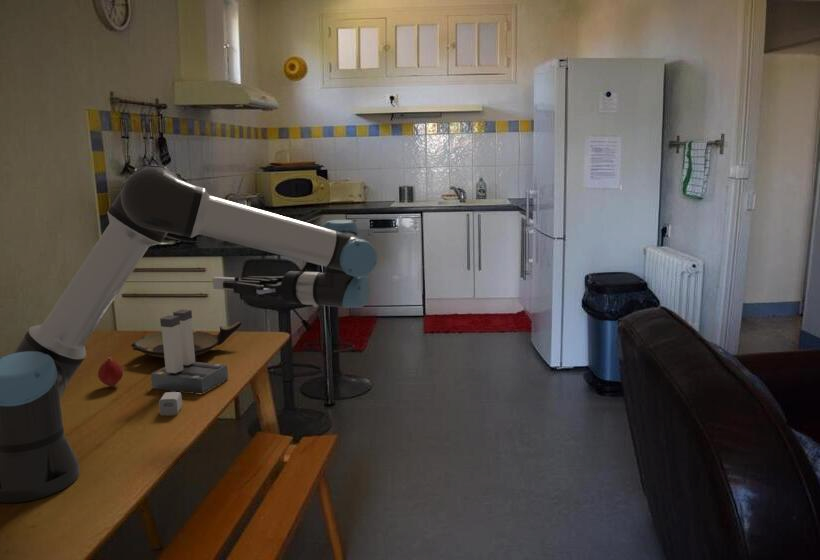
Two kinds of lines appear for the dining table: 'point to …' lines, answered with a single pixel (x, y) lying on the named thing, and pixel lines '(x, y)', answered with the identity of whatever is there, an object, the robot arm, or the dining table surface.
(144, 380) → the dining table surface
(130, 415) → the dining table surface
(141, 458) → the dining table surface
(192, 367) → the console
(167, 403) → the usb wall charger
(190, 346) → the white capped post
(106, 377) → the onion
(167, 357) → the grey square post
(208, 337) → the broken bowl
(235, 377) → the dining table surface
